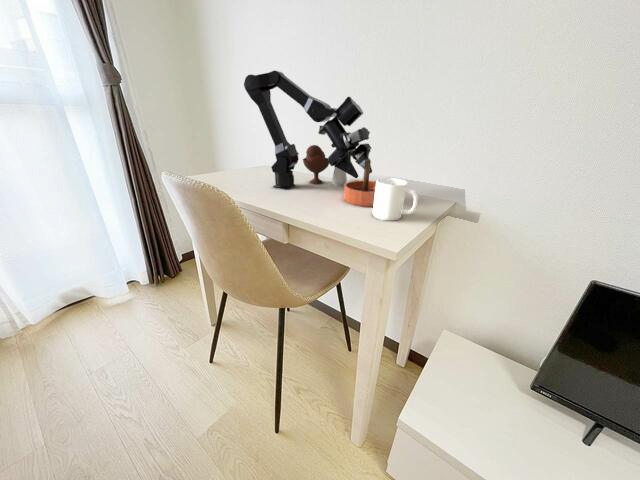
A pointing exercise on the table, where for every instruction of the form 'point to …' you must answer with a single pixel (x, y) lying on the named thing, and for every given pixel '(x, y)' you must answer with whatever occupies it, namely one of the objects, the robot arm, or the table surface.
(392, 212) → the cup
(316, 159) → the ice cream bowl
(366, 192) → the bowl
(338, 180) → the salt shaker
